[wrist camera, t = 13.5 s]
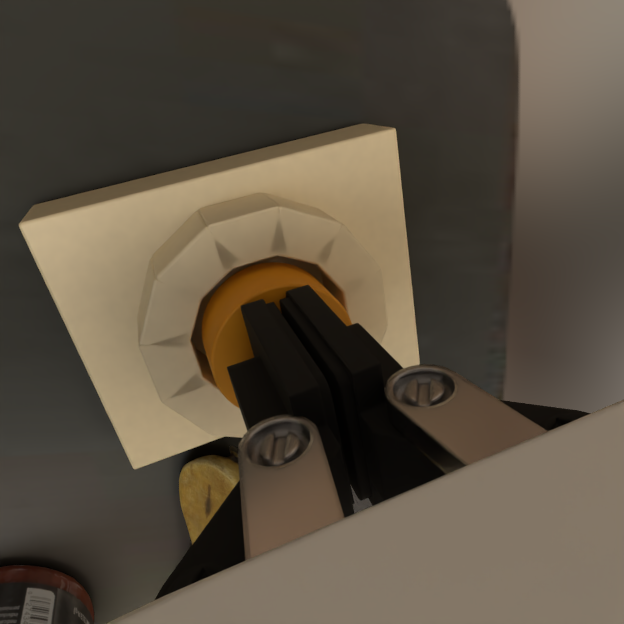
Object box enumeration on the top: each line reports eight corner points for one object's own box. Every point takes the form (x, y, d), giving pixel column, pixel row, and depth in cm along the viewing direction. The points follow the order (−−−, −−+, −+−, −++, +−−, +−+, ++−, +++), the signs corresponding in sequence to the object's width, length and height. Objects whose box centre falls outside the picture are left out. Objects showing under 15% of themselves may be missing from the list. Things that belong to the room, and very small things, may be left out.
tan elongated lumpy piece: (221, 641, 25) (177, 694, 23) (230, 408, 20) (175, 445, 18) (276, 680, 24) (236, 743, 21) (301, 440, 19) (252, 484, 16)
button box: (392, 338, 19) (449, 392, 16) (132, 429, 17) (134, 514, 14) (364, 122, 16) (431, 132, 12) (31, 204, 14) (-1, 244, 10)
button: (340, 358, 15) (364, 389, 13) (222, 399, 14) (233, 438, 13) (318, 244, 13) (343, 265, 12) (183, 284, 12) (191, 312, 11)
